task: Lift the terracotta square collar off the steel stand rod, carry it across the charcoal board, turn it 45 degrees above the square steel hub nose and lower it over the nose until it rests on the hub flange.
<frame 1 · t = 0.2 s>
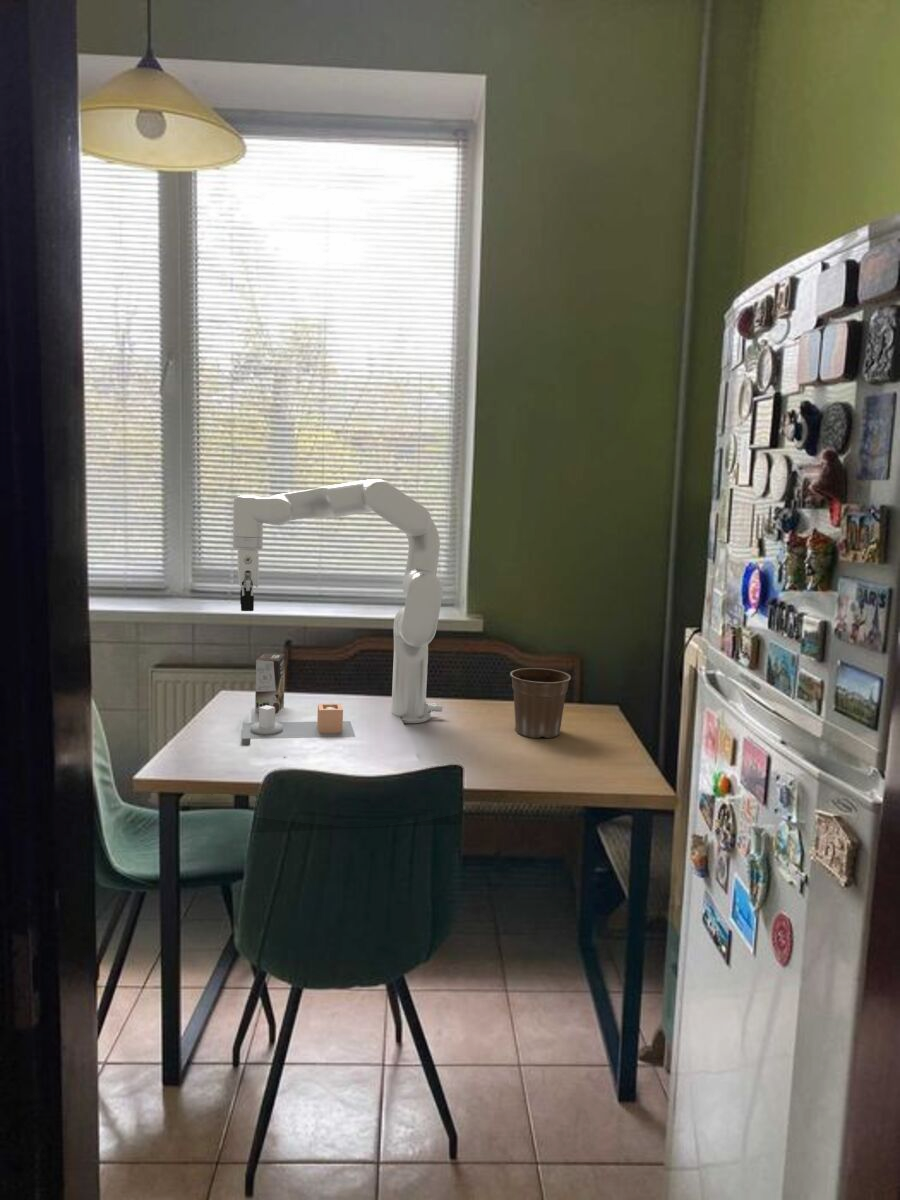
hand: (246, 607, 230), 31 cm above the table, tool pointing down, fingers open, 9 cm apart
coffee box: (269, 713, 242), on the table
plant pot: (536, 732, 237), on the table
collar: (329, 728, 226), point 1 cm above the table, touching hub board
hub board: (298, 735, 224), on the table
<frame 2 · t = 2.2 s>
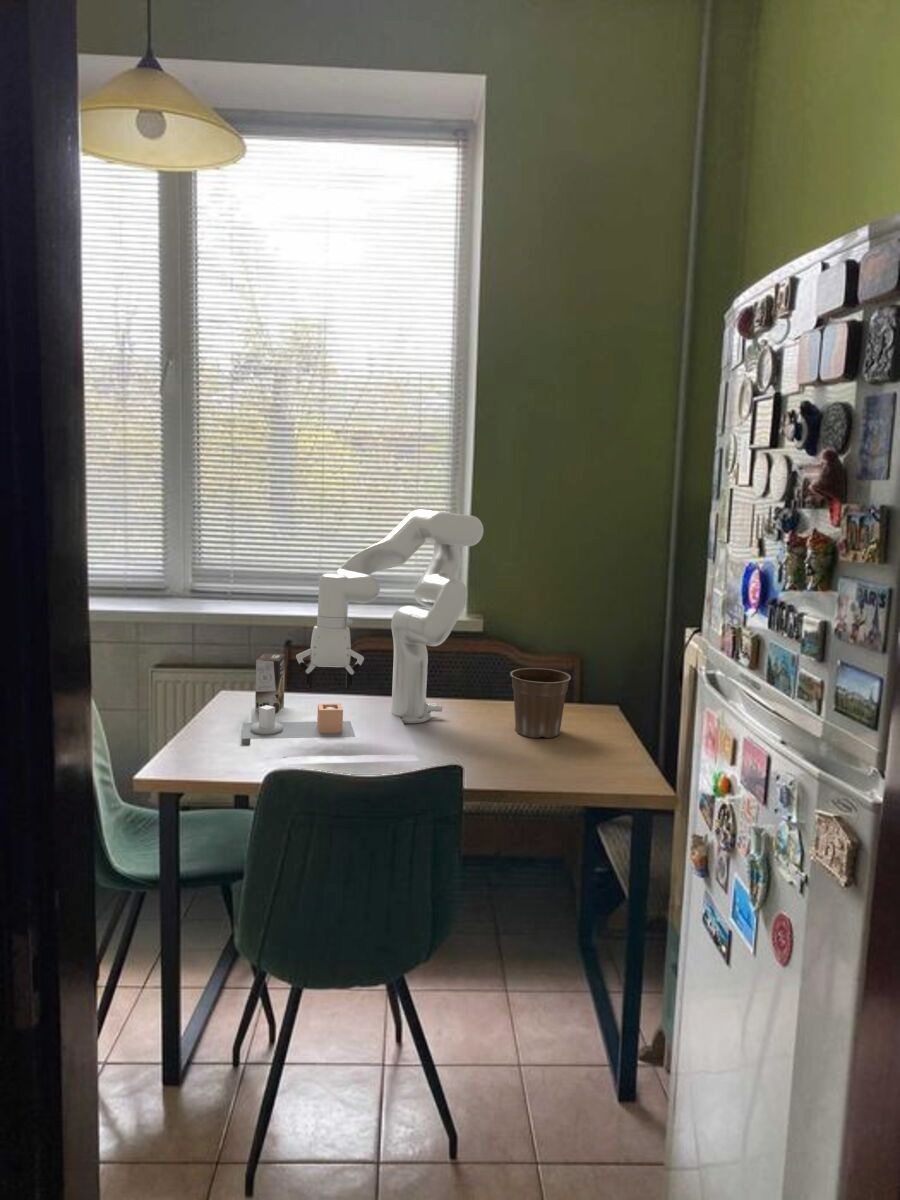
hand: (328, 687, 223), 13 cm above the table, tool pointing down, fingers open, 9 cm apart
nothing on the table moved.
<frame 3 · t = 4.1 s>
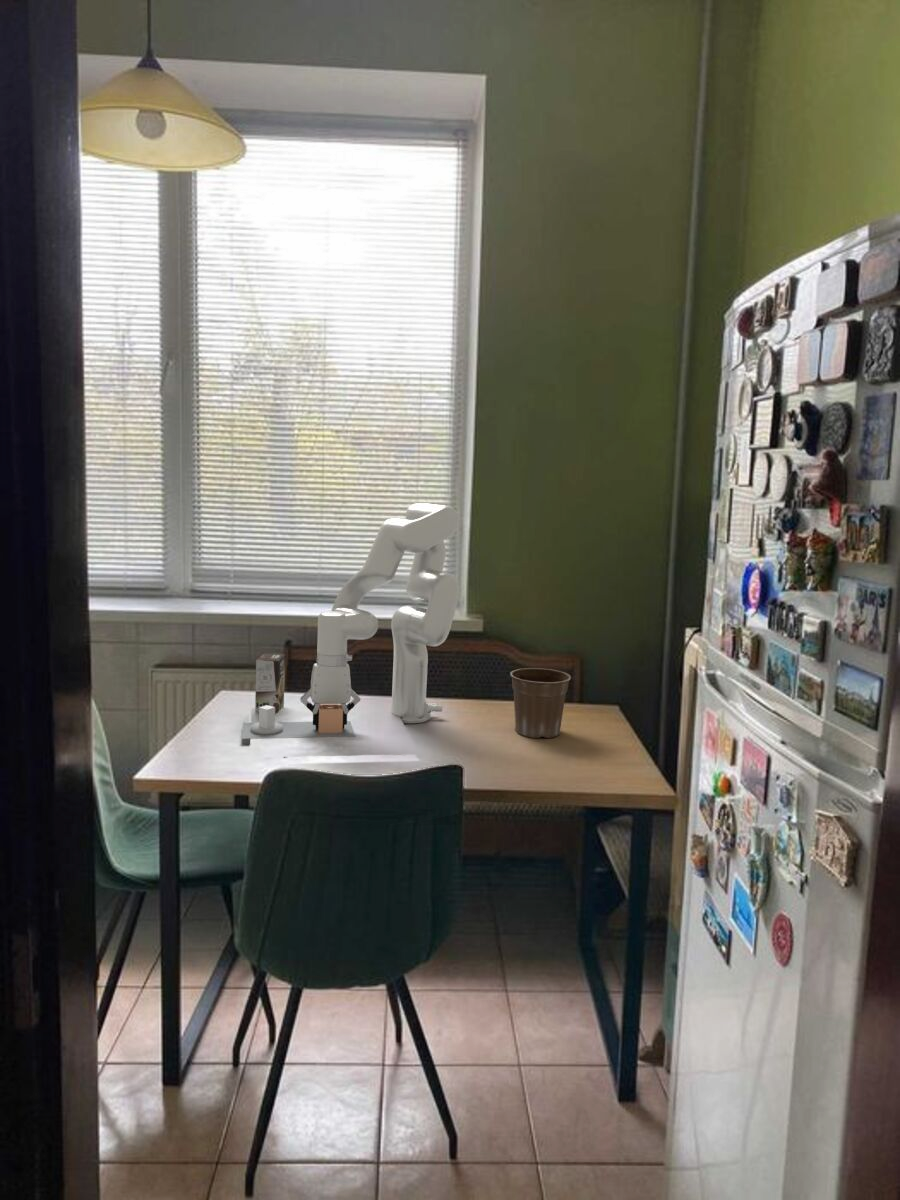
hand: (329, 726, 226), 2 cm above the table, tool pointing down, fingers closed on collar, 6 cm apart
collar: (329, 728, 226), point 1 cm above the table, touching gripper, hub board
everything else where it was.
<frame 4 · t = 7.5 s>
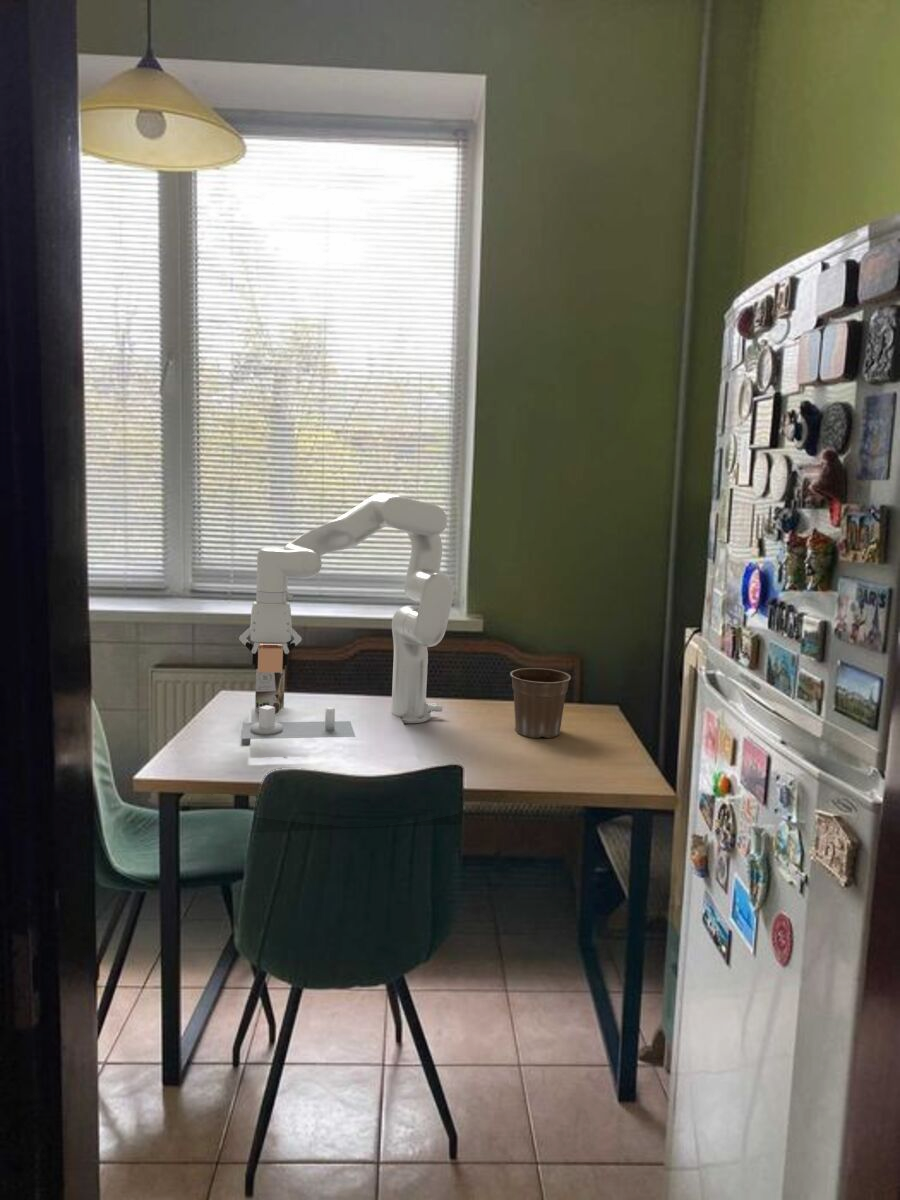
hand: (269, 667, 220), 18 cm above the table, tool pointing down, fingers closed on collar, 6 cm apart
collar: (269, 669, 220), point 17 cm above the table, touching gripper
everything else where it was.
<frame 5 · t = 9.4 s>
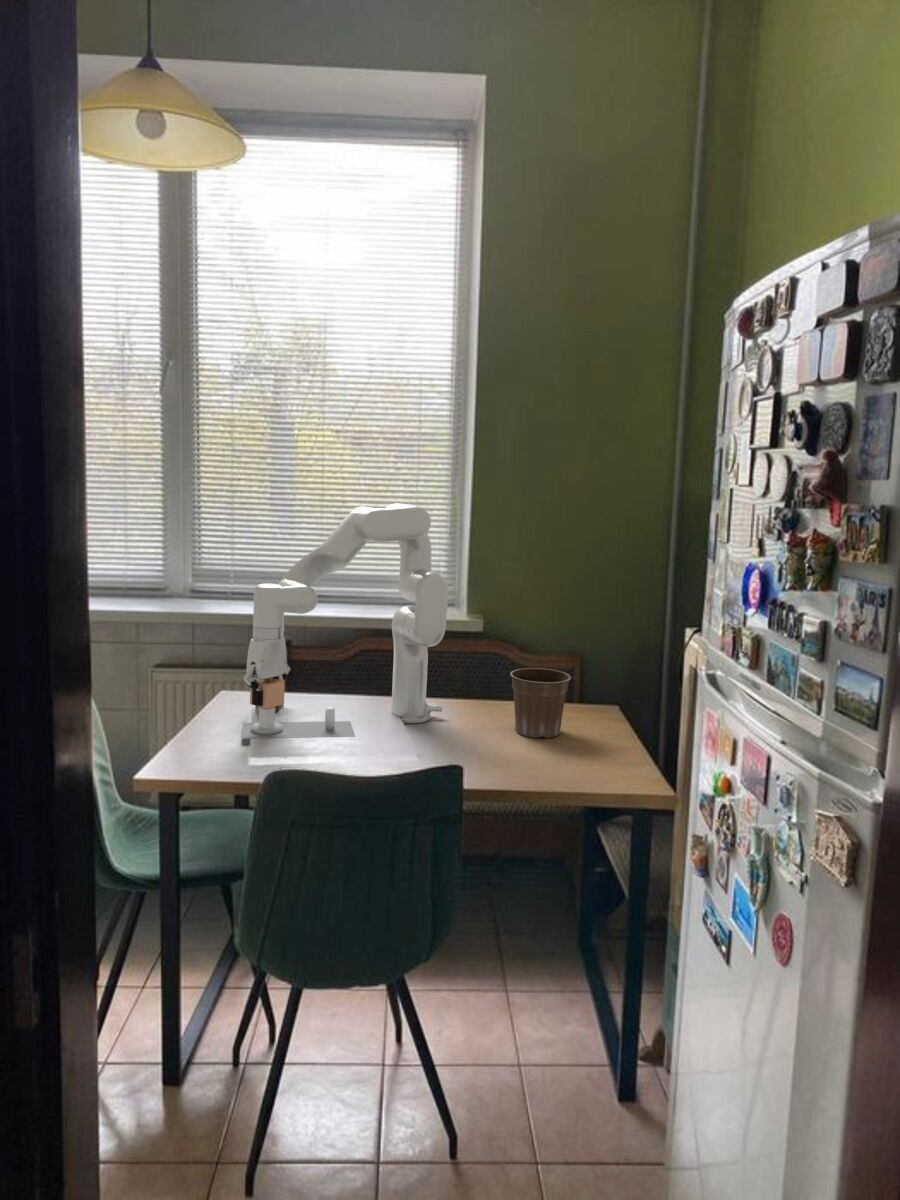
hand: (266, 701, 221), 9 cm above the table, tool pointing down, fingers closed on collar, 6 cm apart
collar: (267, 704, 221), point 8 cm above the table, touching gripper
everything else where it was.
when the fingers open (3 cm above the table, at t = 11.0 s): collar stays where it is, resting on hub board.
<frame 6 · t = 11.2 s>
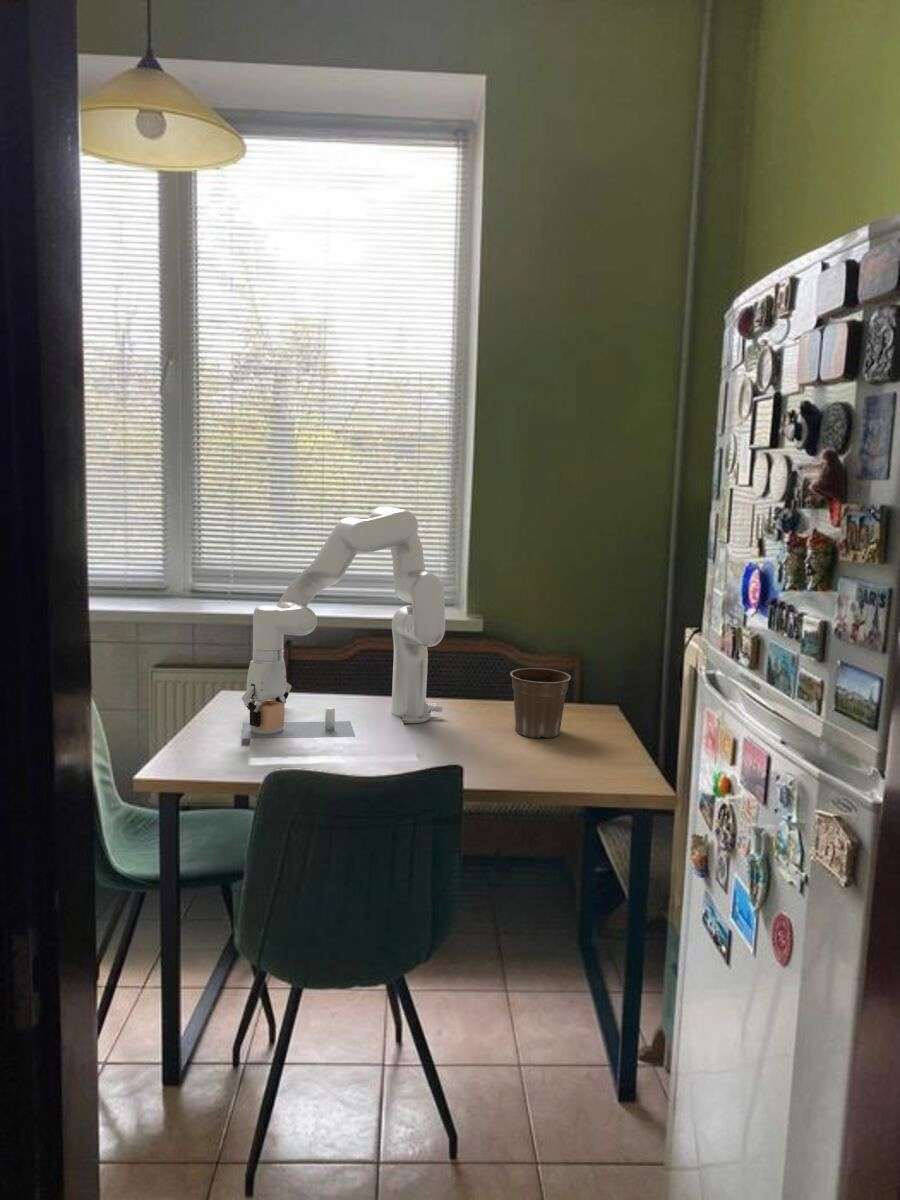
hand: (266, 721, 222), 4 cm above the table, tool pointing down, fingers open, 7 cm apart
collar: (267, 726, 222), point 2 cm above the table, touching hub board
everything else where it was.
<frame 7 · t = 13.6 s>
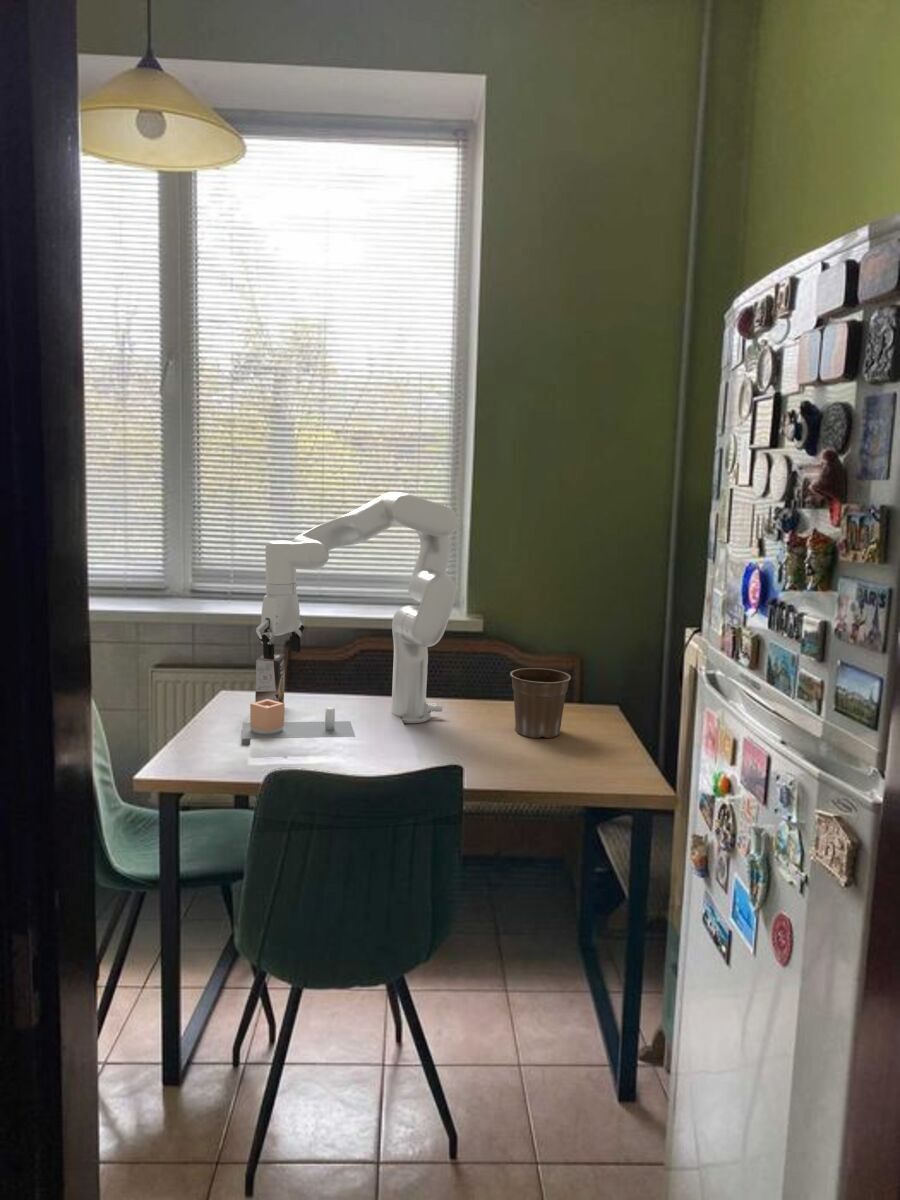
hand: (282, 655, 223), 20 cm above the table, tool pointing down, fingers open, 9 cm apart
nothing on the table moved.
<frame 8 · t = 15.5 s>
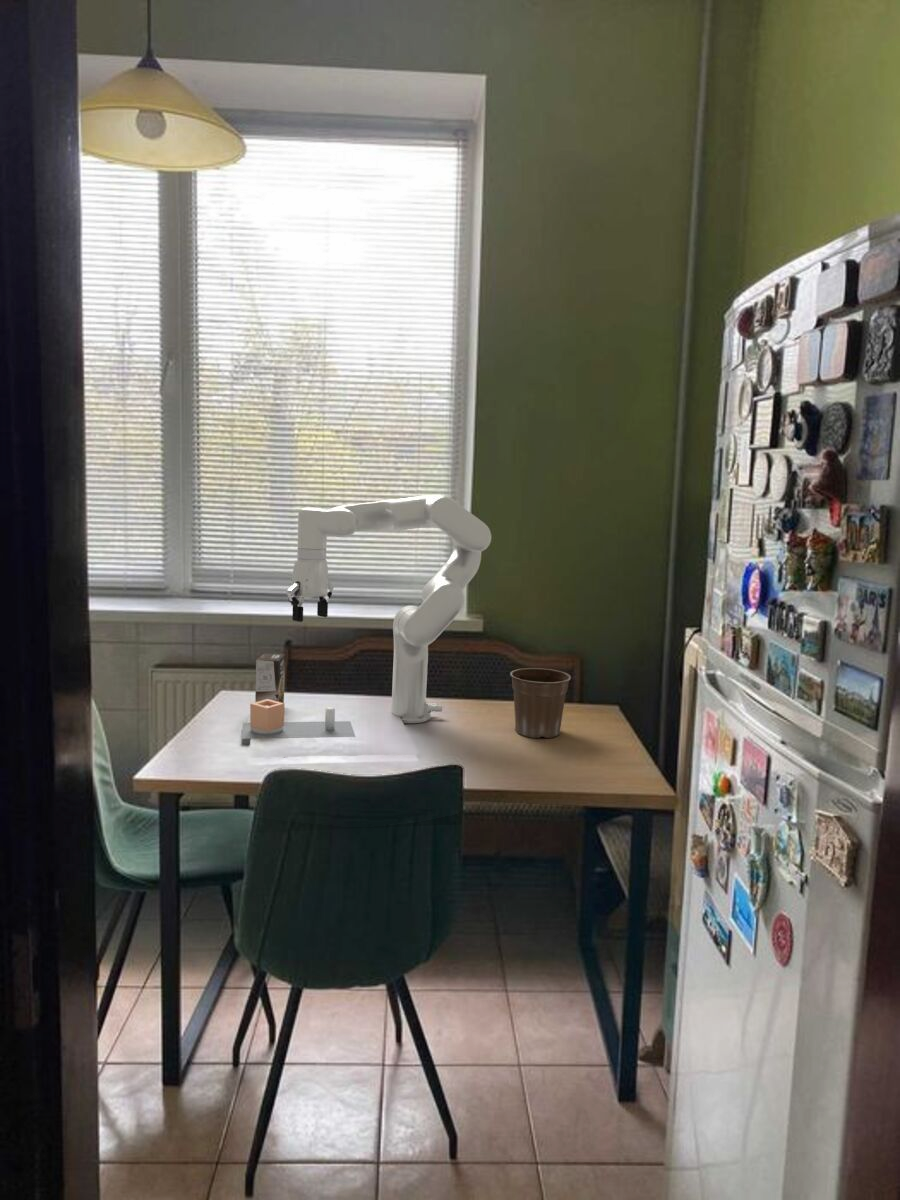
hand: (310, 618, 232), 28 cm above the table, tool pointing down, fingers open, 9 cm apart
nothing on the table moved.
at the end: collar 0.1 cm from the target spot on the hub board, point 2.5 cm above the hub board's base; collar tilted 0°; the gripper is holding nothing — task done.
